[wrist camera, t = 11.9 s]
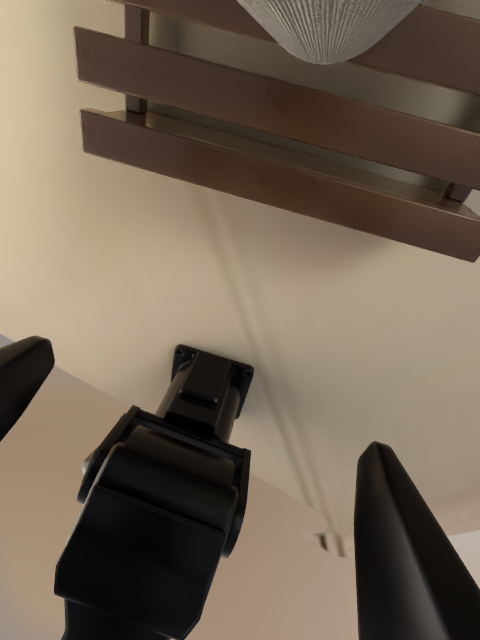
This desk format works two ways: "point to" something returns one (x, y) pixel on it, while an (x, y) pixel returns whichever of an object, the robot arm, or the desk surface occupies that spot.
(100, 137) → the rack
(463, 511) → the desk surface
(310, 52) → the grey hollow cylinder
